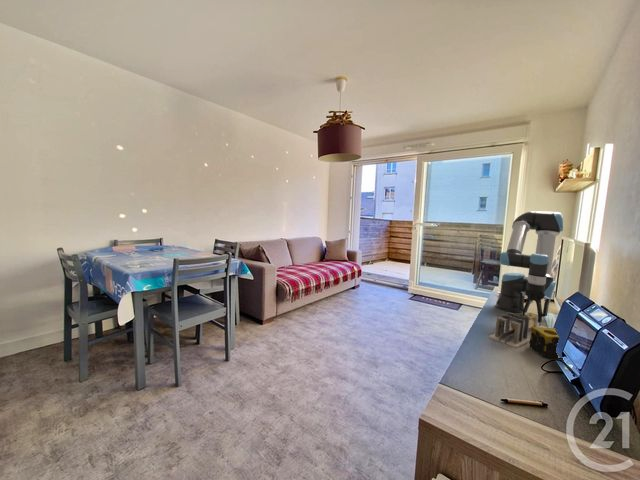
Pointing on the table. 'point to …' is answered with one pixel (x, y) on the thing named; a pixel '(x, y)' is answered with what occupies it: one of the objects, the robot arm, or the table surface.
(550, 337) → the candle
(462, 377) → the table surface
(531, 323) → the long golden plank
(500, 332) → the collar
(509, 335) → the long cream board
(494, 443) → the table surface
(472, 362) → the table surface
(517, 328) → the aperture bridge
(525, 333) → the collar
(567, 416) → the table surface
